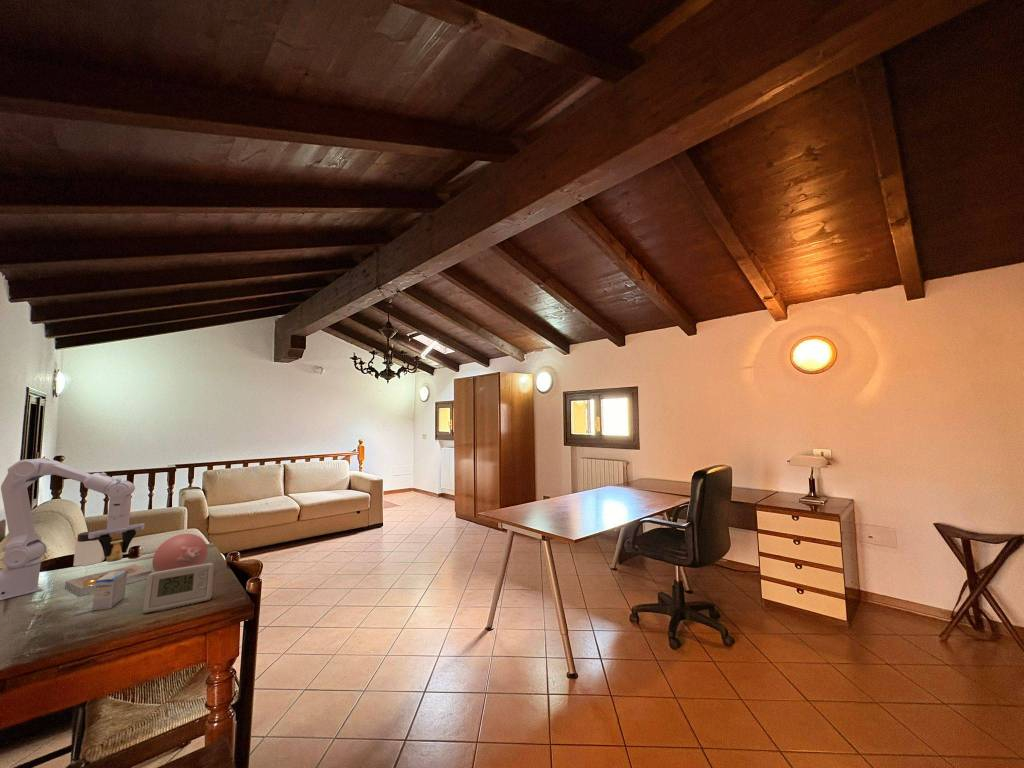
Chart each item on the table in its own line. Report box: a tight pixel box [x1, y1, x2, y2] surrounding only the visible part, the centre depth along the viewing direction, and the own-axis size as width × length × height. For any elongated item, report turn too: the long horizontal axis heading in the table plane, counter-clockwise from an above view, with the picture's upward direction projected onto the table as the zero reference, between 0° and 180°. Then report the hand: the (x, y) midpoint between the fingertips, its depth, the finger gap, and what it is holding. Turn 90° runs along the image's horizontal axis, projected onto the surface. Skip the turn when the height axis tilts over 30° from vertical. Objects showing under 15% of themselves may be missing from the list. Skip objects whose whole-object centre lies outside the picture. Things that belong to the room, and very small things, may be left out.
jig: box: [64, 564, 152, 597], centre depth 138 cm, size 18×14×4 cm
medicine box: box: [91, 571, 127, 611], centre depth 121 cm, size 8×4×9 cm, turn 23°
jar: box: [72, 529, 106, 567], centre depth 160 cm, size 9×8×12 cm
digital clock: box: [142, 562, 215, 614], centre depth 121 cm, size 16×9×11 cm, turn 114°
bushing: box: [106, 540, 124, 563], centre depth 141 cm, size 4×4×6 cm
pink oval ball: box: [151, 533, 209, 572], centre depth 141 cm, size 15×20×15 cm
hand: (115, 554), depth 141 cm, fingers closed on bushing, 4 cm apart
